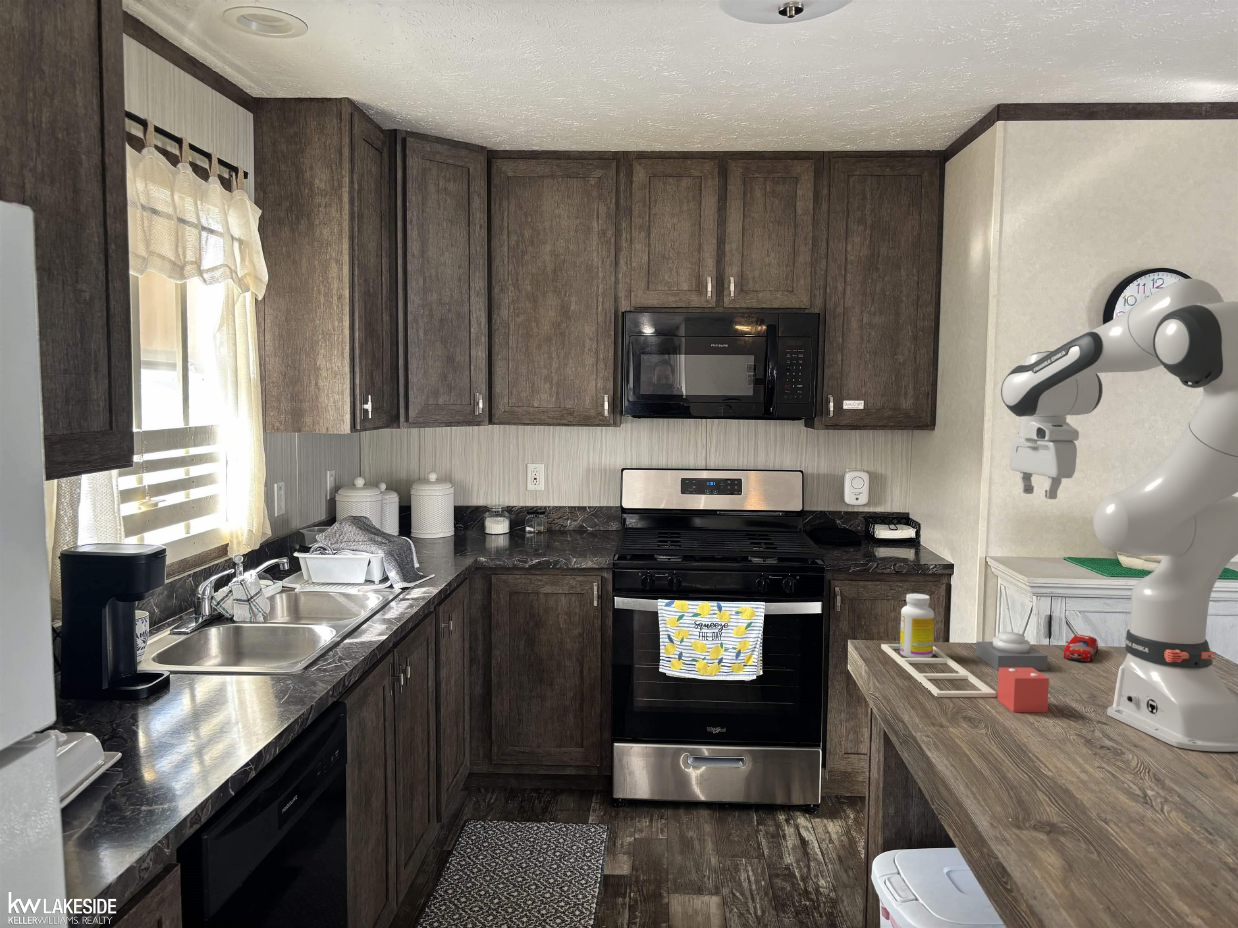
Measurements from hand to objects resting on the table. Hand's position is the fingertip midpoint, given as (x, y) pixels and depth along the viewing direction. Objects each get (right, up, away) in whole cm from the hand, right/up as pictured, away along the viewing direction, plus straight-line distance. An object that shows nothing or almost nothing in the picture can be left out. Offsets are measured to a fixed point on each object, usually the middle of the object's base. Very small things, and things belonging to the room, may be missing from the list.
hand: (1039, 496), depth 181 cm
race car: (+11, -35, +4) cm, 36 cm away
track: (-25, -35, -8) cm, 43 cm away
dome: (-7, -31, -3) cm, 32 cm away
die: (-16, -36, -28) cm, 49 cm away
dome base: (-7, -34, -2) cm, 35 cm away
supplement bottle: (-25, -34, +2) cm, 42 cm away
